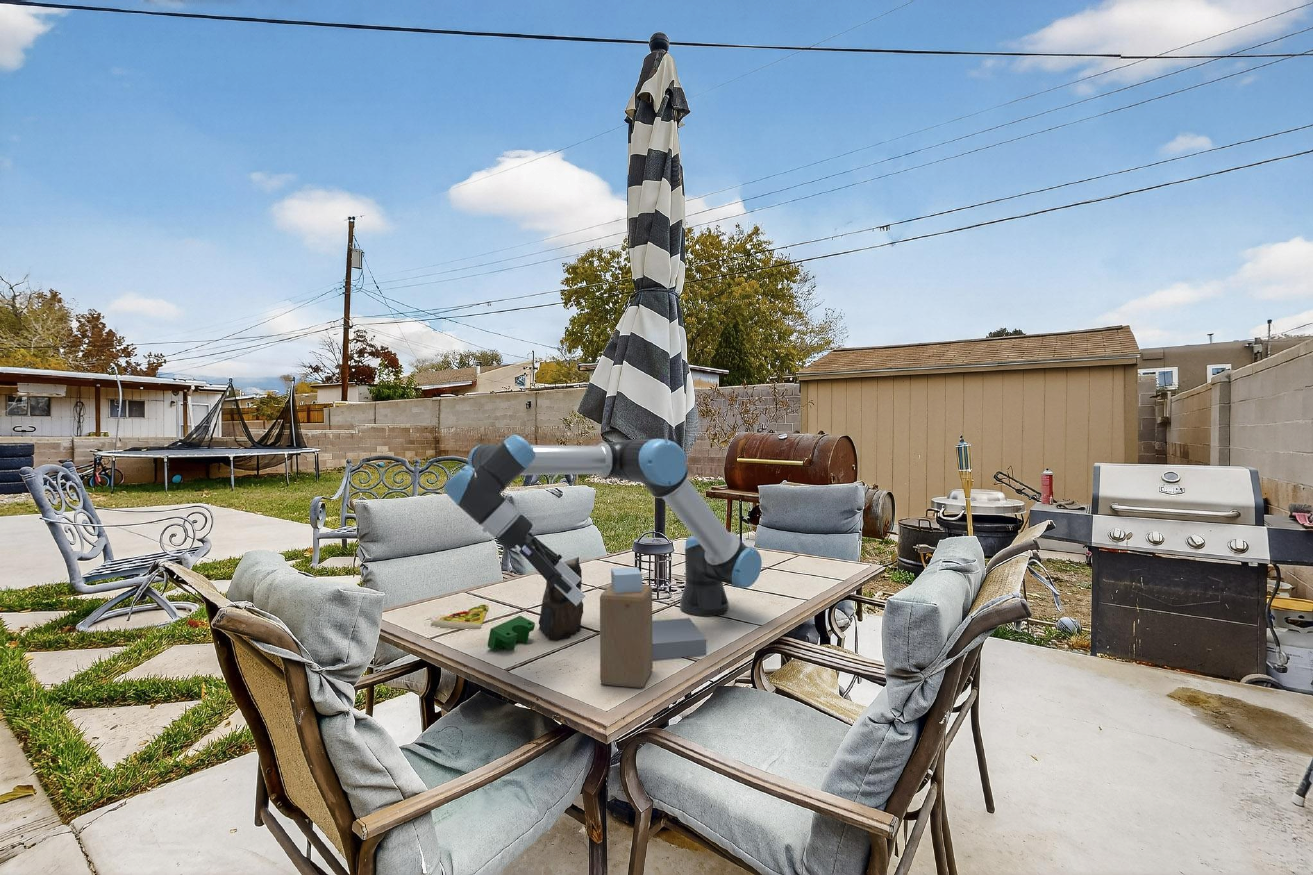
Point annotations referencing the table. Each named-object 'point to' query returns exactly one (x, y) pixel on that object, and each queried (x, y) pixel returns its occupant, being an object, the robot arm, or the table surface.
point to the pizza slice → (463, 619)
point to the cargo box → (626, 580)
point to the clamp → (510, 633)
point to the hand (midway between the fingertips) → (579, 591)
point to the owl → (561, 610)
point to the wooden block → (626, 637)
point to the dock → (676, 639)
